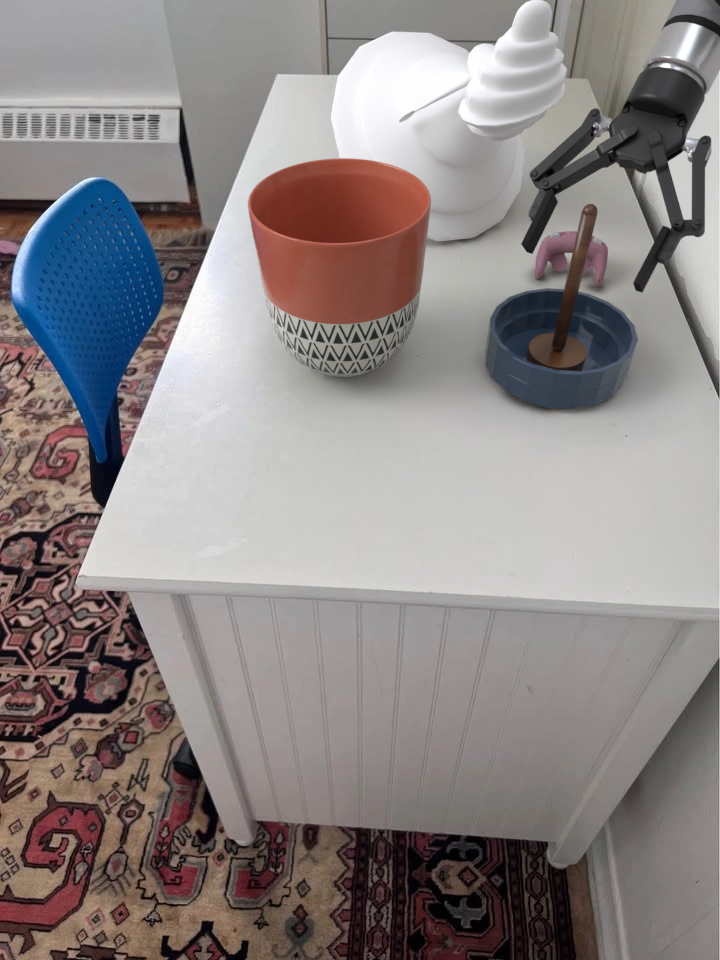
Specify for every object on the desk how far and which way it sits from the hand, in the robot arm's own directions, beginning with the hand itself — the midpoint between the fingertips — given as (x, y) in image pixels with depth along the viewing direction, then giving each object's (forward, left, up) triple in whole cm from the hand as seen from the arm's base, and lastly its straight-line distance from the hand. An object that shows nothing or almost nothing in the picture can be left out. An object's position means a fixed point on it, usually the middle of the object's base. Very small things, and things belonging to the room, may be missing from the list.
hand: (580, 268), depth 81 cm
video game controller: (+10, -19, -14) cm, 26 cm away
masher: (0, +1, -13) cm, 13 cm away
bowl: (0, +1, -14) cm, 14 cm away
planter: (+21, +17, -14) cm, 30 cm away
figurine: (+35, -21, -14) cm, 43 cm away
